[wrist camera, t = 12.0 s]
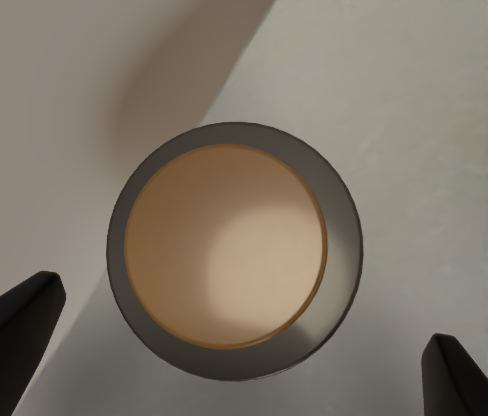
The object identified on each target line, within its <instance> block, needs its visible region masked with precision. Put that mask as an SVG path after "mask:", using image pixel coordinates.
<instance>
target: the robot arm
mask: <svg viewBox="0 0 488 416" xmlns="http://www.w3.org/2000/svg"><path fill="white" fill-rule="evenodd" d="M65 301H66V293H65V290H64V287H63V284H62V281H61V278H60V276H59V274H57V273H55V272H49V271H40V272H38V273H36V274H35V275H33V276H31V277H30V278H28V279H27V280H25V281H23V282H22V283H20V284H19V285H17V286H16V287H14V288H12V289H11V290H9V291H8V292H6V293H5V294H3V295H1V296H0V416H11V415H12V413H13V411H14V410H15V408H16V406H17V404H18V402H19V400H20V399H21V397H22V395H23V393H24V391H25V389H26V387H27V386H28V384H29V382H30V380H31V378H32V376H33V375H34V373H35V371H36V369H37V367H38V365H39V363H40V361H41V359H42V357H43V355H44V352H45V350H46V348H47V346H48V343H49V341H50V338H51V336H52V333H53V331H54V329H55V326H56V324H57V321H58V319H59V317H60V314H61V312H62V309H63V307H64V305H65ZM421 366H422V382H423V398H424V415H425V416H488V378H487V377H486V376H485V374H484V373H483V372H482V371H481V369H480V368H479V367H478V366H477V364H476V363H475V362H474V360H473V359H472V358H471V357H470V355H469V354H468V353H467V351H466V350H465V349H464V348H463V346H462V345H461V344H460V343H459V341H458V340H457V339H456V338H455V337H454V336H451V335H446V334H440V333H435V334H434V335H433V336H432V337H431V339H430V341H429V343H428V344H427V346H426V348H425V350H424V352H423V354H422V359H421Z"/></svg>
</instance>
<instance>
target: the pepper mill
mask: <svg viewBox="0 0 488 416" xmlns="http://www.w3.org/2000/svg"><path fill="white" fill-rule="evenodd" d="M363 255H364V254H363V235H362V229H361V223H360V219H359V216H358V212H357V209H356V206H355V203H354V201H353V199H352V197H351V194H350V192H349V190H348V188H347V186H346V185H345V183H344V182H343V180H342V179H341V177H340V175H339V174H338V173H337V172H336V170H335V169H334V168H333V167H332V166H331V164H330V163H329V162H328V161H327V160H326V159H325V158H324V157H323V156H322V155H321V154H320V153H318V152H317V151H316V150H315V149H314V148H312V147H311V146H309V145H308V144H307V143H305V142H304V141H302V140H300V139H298V138H297V137H295V136H293V135H291V134H289V133H287V132H284V131H282V130H279V129H276V128H273V127H270V126H265V125H261V124H257V123H247V122H223V123H216V124H210V125H206V126H202V127H199V128H195V129H192V130H190V131H188V132H185V133H183V134H180V135H178V136H176V137H175V138H173V139H171V140H169V141H168V142H166V143H165V144H163V145H162V146H160V147H159V148H158V149H156V150H155V151H154V152H153V153H151V154H150V155H149V156H148V157H147V158H146V159H145V160H144V161H143V162H142V163H141V164H140V165H139V167H138V168H137V169H136V170H135V171H134V173H133V174H132V175H131V176H130V178H129V179H128V181H127V183H126V184H125V186H124V188H123V189H122V191H121V193H120V195H119V198H118V200H117V202H116V204H115V207H114V210H113V213H112V216H111V219H110V224H109V229H108V235H107V248H106V258H107V271H108V276H109V280H110V285H111V289H112V292H113V295H114V298H115V301H116V303H117V305H118V307H119V309H120V311H121V313H122V315H123V317H124V319H125V321H126V322H127V324H128V325H129V326H130V328H131V329H132V331H133V332H134V334H135V335H136V336H137V337H138V338H139V339H140V340H141V341H142V342H143V344H144V345H145V346H146V347H148V348H149V349H150V350H151V351H152V352H153V353H155V354H156V355H157V356H158V357H160V358H161V359H163V360H164V361H166V362H167V363H169V364H170V365H172V366H174V367H176V368H178V369H180V370H183V371H185V372H187V373H189V374H193V375H196V376H199V377H202V378H206V379H212V380H218V381H237V382H240V381H249V380H257V379H261V378H265V377H269V376H273V375H276V374H278V373H281V372H283V371H286V370H288V369H291V368H292V367H294V366H296V365H298V364H299V363H301V362H303V361H304V360H306V359H307V358H309V357H310V356H311V355H313V354H314V353H315V352H316V351H318V350H319V349H320V348H321V347H322V346H323V345H324V344H325V343H326V342H327V341H328V340H329V339H330V338H331V337H332V336H333V334H334V333H335V332H336V330H337V329H338V328H339V326H340V325H341V324H342V322H343V321H344V319H345V317H346V315H347V313H348V311H349V310H350V308H351V306H352V303H353V301H354V298H355V295H356V293H357V290H358V287H359V282H360V278H361V274H362V266H363Z"/></svg>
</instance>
